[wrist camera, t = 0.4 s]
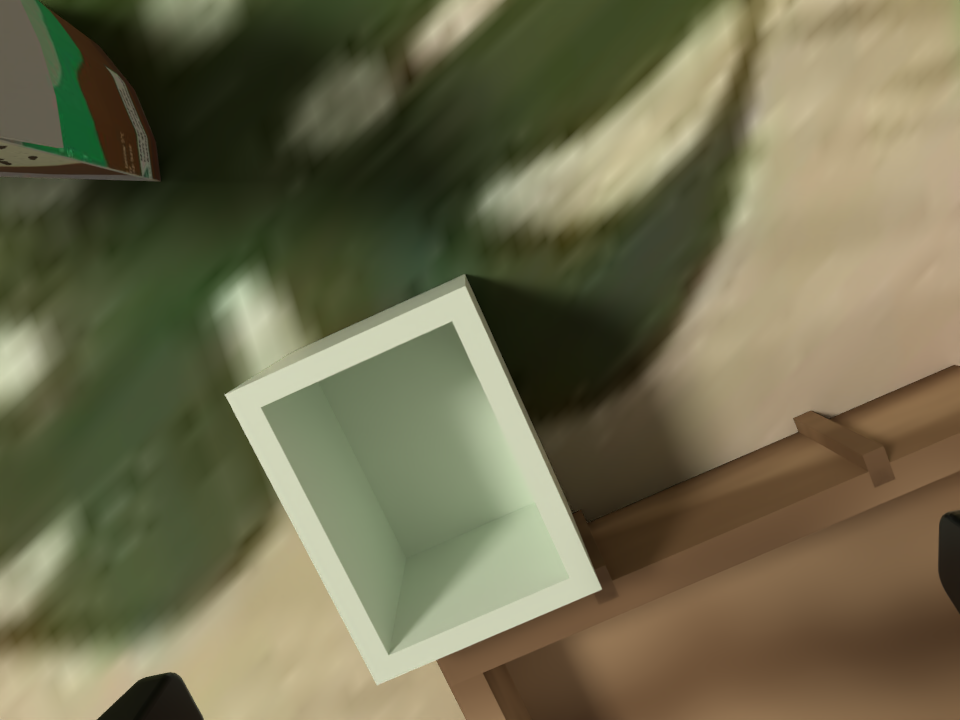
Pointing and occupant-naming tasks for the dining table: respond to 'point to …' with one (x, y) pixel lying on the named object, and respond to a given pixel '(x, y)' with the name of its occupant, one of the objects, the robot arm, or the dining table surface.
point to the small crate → (416, 481)
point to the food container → (66, 104)
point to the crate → (759, 587)
